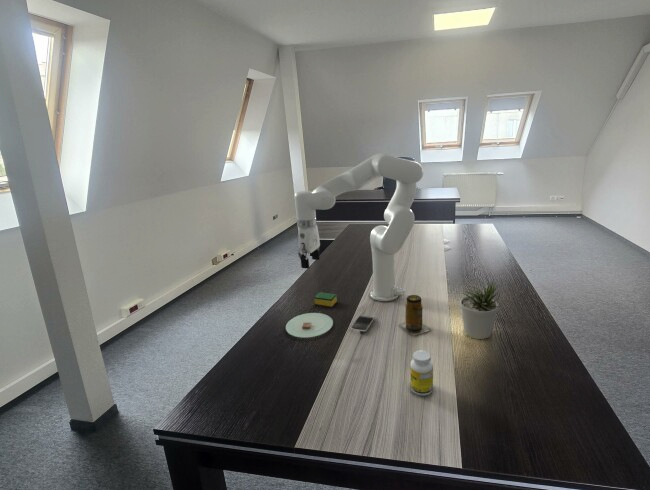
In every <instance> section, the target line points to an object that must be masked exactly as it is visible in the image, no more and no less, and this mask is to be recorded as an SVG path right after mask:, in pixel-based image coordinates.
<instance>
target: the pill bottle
mask: <svg viewBox="0 0 650 490" xmlns="http://www.w3.org/2000/svg"><path fill="white" fill-rule="evenodd" d="M409 368H410V372H409V373H410V390H411V391H412V393H414V394H415V395H417V396H428V395H430V394H431V393H432V392H433V389H434V364H433V361H432V360H431V353H429V352H428V351H427V350H421V349H420V350H415V351H414V352H413V355H412V359H411V361H410V367H409Z"/></svg>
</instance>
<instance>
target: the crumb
mask: <svg viewBox="0 0 650 490" xmlns="http://www.w3.org/2000/svg"><path fill="white" fill-rule="evenodd" d="M310 328H311V323H303V326H302V329H310Z"/></svg>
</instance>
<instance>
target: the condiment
mask: <svg viewBox="0 0 650 490" xmlns="http://www.w3.org/2000/svg"><path fill="white" fill-rule="evenodd" d="M423 317H424V316H423V304H422V297H421V296H419V295H418V294H410V295H407V297H406V303H405V323H402V324H400V327H402V328H403V329H404V330H405V331H407V332H408V333H409V334H411V336H414V337H415V336H418V335H422V334H424V333H427V332H429V331H431V330H430V329H429V328H428V327H426V326H425V325H424V324H423Z"/></svg>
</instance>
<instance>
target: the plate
mask: <svg viewBox="0 0 650 490" xmlns="http://www.w3.org/2000/svg"><path fill="white" fill-rule="evenodd" d="M303 323H311V328H310V329H302V326H303ZM333 325H334V320H333V318H332V317H331V316H329V315H327V314H324V313H321V312H307V313H303V314H299V315H296V316H295V317H292V318H291V319H290V320H288V321H287V323H286V325H285V331H286V332H287V333H288V335H291V336H293V337H296V338H313V337H317V336H321V335H323V334H325V333H327V332H328V331H330V329H331V328H332V327H333Z"/></svg>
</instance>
